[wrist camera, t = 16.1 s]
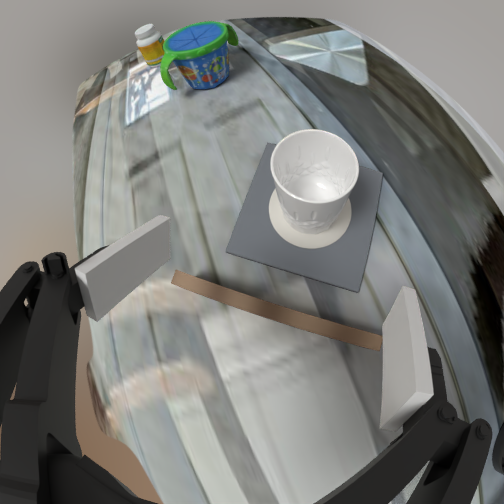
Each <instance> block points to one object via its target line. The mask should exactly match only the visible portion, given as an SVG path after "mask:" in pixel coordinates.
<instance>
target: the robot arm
mask: <svg viewBox="0 0 504 504" xmlns="http://www.w3.org/2000/svg"><path fill="white" fill-rule="evenodd" d="M170 259H171V258H170V218H169V217H165V216H162V215H159V216H157V217H156V218H154V219H152V220H150V221H149V222H147V223H145V224H144V225H142V226H140V227H139V228H137V229H135V230H134V231H132V232H130V233H129V234H127V235H125V236H124V237H122V238H120V239H119V240H117V241H116V242H114V243H112V244H111V245H108V246H105V247H102V248H100V249H98V250H96V251H95V252H93V254H90V255H89V256H87V257H86V258H84V259H83V260H81V261H79V262H78V263H76V264H75V265H74V266H72V267H71V268H69V267H68V263H67V259H66V255H65V254H64V253H61V252H54V253H50V254H48V255H46V256H45V257H44V258H43V259H42V264H43V268H44V272H42V271H40V268H39V265H38V263H37V262H26V263H25V264H23V265H21V266H20V267H19V268H18V270H17V271H16V272H15V273H14V274H13V276H12V277H11V278H10V280H9V281H8V282H7V283H6V285H5V286H4V287H3V289H2V290H1V292H0V426H1V424H2V433H1V460H0V504H157V503H154V502H151V501H147V500H144V499H141V498H138V497H137V496H136V495H135V494H134V493H133V492H132V491H131V490H130V489H129V488H128V487H127V486H125V485H124V484H123V483H121V482H120V481H119V480H118V479H116V478H115V477H114V476H113V475H111V474H110V473H109V472H108V471H106V470H105V469H103V468H102V467H101V466H99V465H98V464H96V463H95V462H94V461H92V460H91V459H90V458H88V457H87V456H86V455H84V456H83V457H82V452H81V448H80V445H79V442H78V440H77V436H76V428H75V426H76V425H75V380H76V362H77V349H78V338H79V329H80V321H81V312H80V309H81V308H83V307H85V310H86V314H87V316H89V317H90V318H92V319H94V320H95V321H97V322H98V321H99V320H100V319H101V318H102V317H103V316H104V315H106V314H107V313H108V312H109V311H110V310H111V309H112V308H113V307H115V306H116V305H117V304H118V303H119V302H120V301H121V300H123V299H124V298H125V297H126V296H127V295H128V294H129V293H131V292H132V291H133V290H134V289H135V288H136V287H138V286H139V285H140V284H141V283H142V282H143V281H145V280H146V279H147V278H148V277H149V276H150V275H152V274H153V273H154V272H155V271H156V270H158V269H159V268H160V267H161V266H162V265H164V264H165V263H166V262H167V261H168V260H170ZM25 299H27V301H28V305H27V306H25V305H24V301H25ZM382 332H383V381H382V404H381V418H380V429H383V430H389V431H395V432H396V431H397V430H398V429H399V428H400V427H401V426H402V425H403V433H402V434H401V435H400V436H399V437H397V438H396V439H395V440H394V441H393V442H391V443H390V445H389V446H388V447H387V448H386V449H385V450H384V451H383V452H382V453H380V454H379V455H378V456H377V457H376V458H375V459H374V460H372V461H371V462H370V463H369V464H368V465H366V466H365V467H364V468H363V469H362V470H360V471H359V472H358V473H356V474H355V475H354V476H353V477H351V478H350V479H349V480H347V481H346V482H345V483H343V484H342V485H341V486H339V487H338V488H336V489H335V490H334V491H332V492H331V493H329V494H328V495H326V496H325V497H323V498H322V499H320V500H319V501H317V502H315V503H314V504H388V503H389V502H390V501H391V500H392V499H394V498H395V497H396V496H397V495H398V494H399V493H400V492H401V491H402V490H403V489H404V488H405V486H406V485H407V484H408V483H409V482H410V481H411V480H412V479H413V478H414V477H415V476H416V475H417V474H418V472H419V471H420V470H421V469H422V468H423V467H424V466H425V464H426V463H427V462H428V461H430V462H429V464H428V466H427V468H426V470H425V472H424V474H423V475H422V477H421V479H420V481H419V483H418V485H417V486H416V488H415V490H414V492H413V493H412V495H411V497H410V498H409V500H408V501H407V503H406V504H471V501H472V499H473V496H474V494H475V491H476V489H477V486H478V483H479V480H480V478H481V475H482V472H483V469H484V465H485V462H486V459H487V455H488V452H489V448H490V444H491V440H492V429H491V427H490V425H489V423H488V422H487V421H485V420H484V419H476V420H475V421H473V422H472V423H471V424H469V423H467V422H465V421H462V420H460V419H459V418H457V412H456V409H455V408H454V407H453V405H451V404H450V403H449V402H447V395H446V388H445V381H444V376H443V369H442V363H441V358H440V356H439V354H438V353H437V351H436V349H433V348H429V347H427V342H426V337H425V332H424V327H423V322H422V317H421V312H420V308H419V304H418V299H417V295H416V291H415V289H412V288H408V287H405V286H402V288H401V290H400V292H399V294H398V296H397V298H396V300H395V302H394V304H393V306H392V308H391V310H390V312H389V314H388V316H387V318H386V320H385V321H384V323H383V325H382ZM16 382H17V384H16ZM15 385H16V391H15V397H14V399H13V400H10V398H11V395H12V393H13V390H14V387H15ZM492 461H493V466H494V468H495V470H496V471H498V472H499V473H501V474H503V475H504V424H503V426H502V428H501V430H500V432H499V435H498V437H497V440H496V443H495V446H494V450H493V458H492Z"/></svg>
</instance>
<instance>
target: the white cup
mask: <svg viewBox="0 0 504 504" xmlns="http://www.w3.org/2000/svg"><path fill="white" fill-rule="evenodd" d="M270 165H271V172H272V176H273V180H274V184H275V188H276V192H277V197H278V200H279V204H280V207H281V209H282V211H283V216H284V219H285V220H286V221H287V222H288V224H289V225H290V226H291V228H293V229H295V230H297V231H299V232H301V233H303V234H318V233H321V232H323V231H326V230H328V229H329V228H330V227H331V226H332V224H333V223H334V222H335V221H336V219H337V217H338V216H339V214H340V213H341V211H342V209H343V207H344V206H345V204H346V202H347V200H348V198H349V196H350V194H351V191H352V189H353V187H354V185H355V183H356V181H357V178H358V174H359V164H358V160H357V157H356V155H355V153H354V151H353V150H352V148H351V147H350V146H349V145H348V144H347V143H346V142H345V141H344V140H343V139H341V138H340V137H338V136H336V135H335V134H332V133H330V132H327V131H323V130H316V129H307V130H301V131H297V132H294V133H292V134H290V135H288V136H286V137H285V138H283V139H282V140H281V141H280V142H279V143H278V144H277V146H276V147H275V149H274V151H273V153H272V156H271V163H270Z"/></svg>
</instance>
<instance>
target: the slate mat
mask: <svg viewBox="0 0 504 504" xmlns="http://www.w3.org/2000/svg"><path fill="white" fill-rule="evenodd" d="M276 146H277V145H276V144H271V143H267V145H266V148H265V150H264V153H263V155H262V158H261V160H260V163H259V165H258V168H257V170H256V173H255V175H254V178H253V181H252V183H251V186H250V188H249V191H248V193H247V196H246V198H245V201H244V204H243V206H242V209H241V211H240V214H239V217H238V219H237V222H236V225H235V227H234V230H233V232H232V235H231V238H230V240H229V243H228V246H227V248H226V253H229V254H232V255H235V256H239V257H242V258H245V259H248V260H252V261H255V262H258V263H261V264H265V265H268V266H271V267H274V268H277V269H281V270H284V271H287V272H291V273H294V274H297V275H300V276H304V277H307V278H310V279H313V280H317V281H320V282H323V283H327V284H330V285H333V286H336V287H340V288H343V289H346V290H350V291H353V292H356V293H358V292H359V288H360V284H361V280H362V276H363V272H364V268H365V264H366V260H367V256H368V251H369V247H370V242H371V237H372V233H373V228H374V223H375V217H376V212H377V207H378V201H379V195H380V189H381V182H382V175H383V173H381V172H378V171H375V170H372V169H369V168H365V167H362V166H359V174H358V178H357V181H356V183H355V185H354V187H353V189H352V191H351V194H350V196H349V198H348V200H347V202H346V204H345V206H344V207H343V209H342V211H341V213H340V214H339V216H338V217H337V219H336V221H335V222H334V223H333V224H332V226H331V227H330V228H329V229H328V230H326V231H323V232H321V233H318V234H303V233H301V232H299V231H297V230H295V229H293V228H291V226H290V225H289V224H288V222H287V221H286V220H285V219H284V216H283V211H282V209H281V207H280V204H279V200H278V197H277V192H276V188H275V184H274V180H273V176H272V172H271V165H270V163H271V156H272V153H273V151H274V149H275V147H276Z"/></svg>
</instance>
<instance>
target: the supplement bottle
mask: <svg viewBox="0 0 504 504" xmlns="http://www.w3.org/2000/svg"><path fill="white" fill-rule="evenodd" d="M135 36H136V38H138V40H137V46H138V48H139V50H140V52H141V53H142V55H143V57H144V59H145V61H146V63H147V64H148V66H149V67H158V66H161V60H162V58H163V56H164V54H165V52H164V49H163V44H164V42H165V41H164V39H163V37H162V35H161V33H160V32H159V31H156V30H155V27H154V26H153V24H147V25H145V26H142V27H141V28H139V29H138V30H136V32H135Z"/></svg>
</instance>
